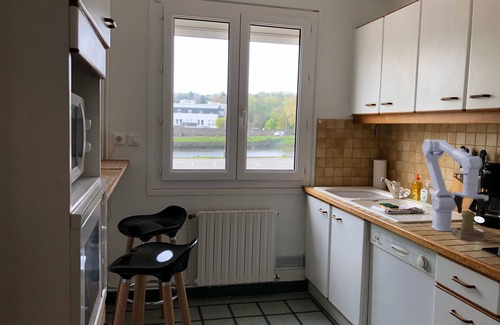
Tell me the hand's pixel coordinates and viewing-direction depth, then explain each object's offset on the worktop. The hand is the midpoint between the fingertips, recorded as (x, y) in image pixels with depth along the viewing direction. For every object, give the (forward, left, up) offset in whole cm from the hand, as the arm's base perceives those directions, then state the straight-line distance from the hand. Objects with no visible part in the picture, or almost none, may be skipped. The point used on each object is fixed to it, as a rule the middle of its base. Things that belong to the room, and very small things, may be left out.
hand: (468, 214), depth 189 cm
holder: (0, 0, -10) cm, 10 cm away
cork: (+1, -1, -10) cm, 10 cm away
